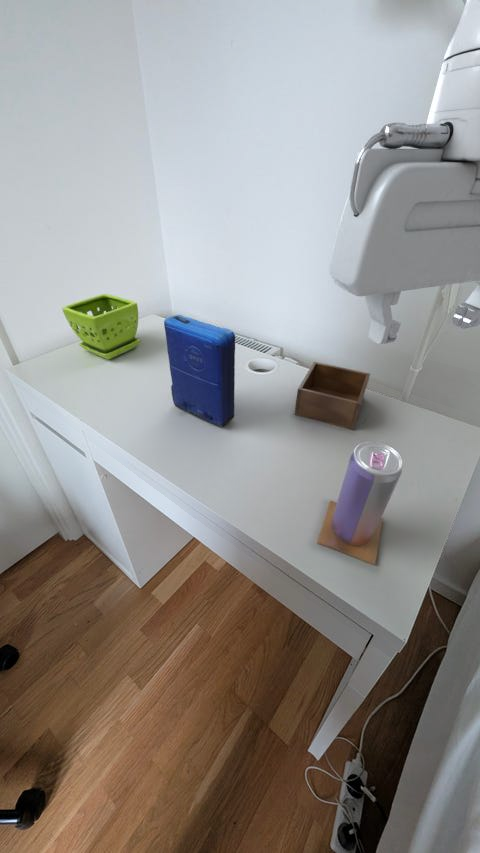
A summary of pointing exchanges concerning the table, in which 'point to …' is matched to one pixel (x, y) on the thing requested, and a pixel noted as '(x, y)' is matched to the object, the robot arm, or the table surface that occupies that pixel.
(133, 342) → the flower pot
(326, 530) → the cork mat
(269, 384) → the table surface
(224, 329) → the blue plastic case
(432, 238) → the robot arm
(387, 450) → the beverage can
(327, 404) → the wooden box
